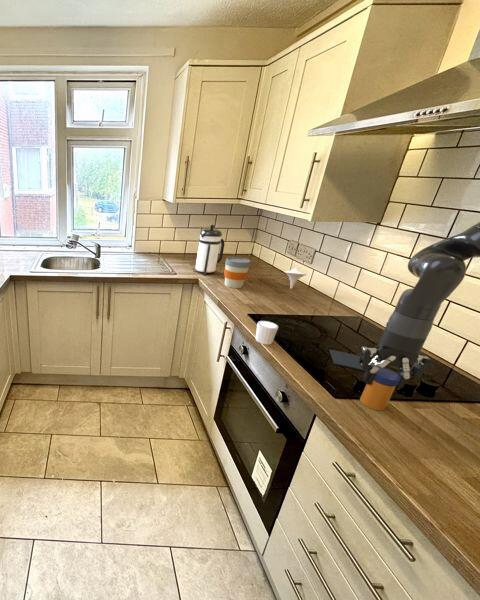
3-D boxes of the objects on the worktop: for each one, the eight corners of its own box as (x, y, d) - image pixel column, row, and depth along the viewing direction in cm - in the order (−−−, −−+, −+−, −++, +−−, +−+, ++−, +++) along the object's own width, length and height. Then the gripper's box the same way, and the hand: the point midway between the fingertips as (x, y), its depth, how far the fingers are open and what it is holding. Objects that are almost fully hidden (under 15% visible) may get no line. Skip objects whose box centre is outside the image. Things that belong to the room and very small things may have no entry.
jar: (374, 397, 90) (387, 369, 86) (390, 411, 85) (405, 382, 81) (354, 396, 90) (367, 368, 87) (369, 410, 85) (382, 381, 82)
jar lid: (365, 371, 88) (368, 365, 87) (391, 375, 86) (394, 369, 85) (375, 383, 83) (377, 377, 82) (402, 388, 81) (405, 382, 80)
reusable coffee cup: (234, 281, 185) (239, 256, 180) (250, 288, 174) (256, 261, 169) (216, 282, 182) (221, 257, 177) (231, 290, 171) (236, 263, 165)
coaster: (329, 350, 114) (329, 349, 114) (364, 358, 109) (365, 356, 109) (333, 364, 106) (334, 363, 105) (372, 373, 101) (372, 371, 101)
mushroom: (278, 284, 180) (283, 264, 175) (300, 287, 176) (306, 266, 171) (281, 290, 171) (286, 269, 167) (304, 293, 167) (310, 271, 163)
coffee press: (218, 277, 191) (227, 227, 180) (190, 273, 198) (198, 225, 186) (219, 270, 206) (228, 223, 195) (194, 266, 212) (201, 221, 201)
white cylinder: (273, 347, 116) (278, 330, 113) (252, 342, 119) (256, 325, 116) (274, 339, 121) (279, 323, 118) (254, 334, 124) (258, 318, 122)
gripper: (377, 332, 78) (354, 387, 84) (454, 342, 73) (423, 400, 80) (364, 319, 84) (343, 372, 91) (434, 328, 80) (407, 383, 86)
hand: (381, 385), depth 85 cm, fingers closed on jar lid, 5 cm apart
